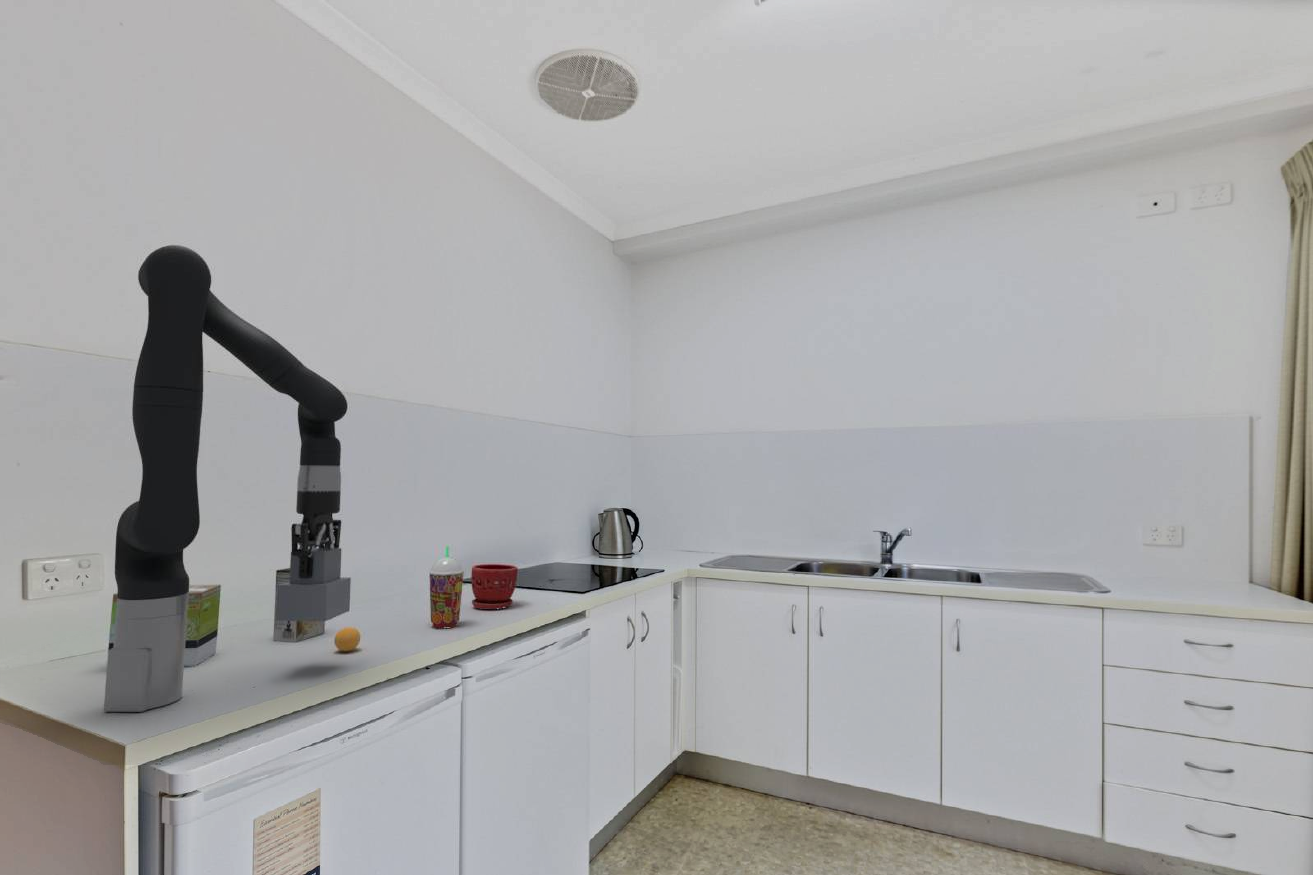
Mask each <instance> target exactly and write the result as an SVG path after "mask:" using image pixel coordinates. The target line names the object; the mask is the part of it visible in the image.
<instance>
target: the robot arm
mask: <svg viewBox="0 0 1313 875" xmlns="http://www.w3.org/2000/svg"><path fill="white" fill-rule="evenodd" d="M137 276H138V278H137V279H138V280H137V281H138V283H139V284H138V285H139V286H140V289H141V290H142V292H144V293H143V294H145V295H146V296H147V302H148V303H147V306H148V307H147V308H148V309H147V310H148V315H147V316H148V317H147V328H146V332H145V336H144V341H143V343H142V346H141V350H140V353H139V354H140V355H139V357H138V361H137V366H136V370H135V375H134V376H135V377H134V383H133V393H132V394H133V395H132V408H131V410H132V411H131V412H132V424H133V430H134V434H135V439H136V442H137V446H138V450H139V454H140V458H141V464H142V465H141V466H142V468H141V469H142V478H141V479H142V480H141V486H140V493H139V497H138V498H139V499H138V501H137V500H136V502H133V503H132V504H130V505H129V506H128V507H126V508H125V509H124V511H123V512H122V513H121V515H120V516H119V520H118V522H117V526H116V527H117V528H116V533H115V534H116V535H115V549H114V550H115V552H114V553H115V555H114V557H115V559H114V579H115V582H116V587H117V593H116V594H117V608H116V620H115V634H114V647H113V648H112V649H110V650H109V651H108V650H107V663H106V674H105V675H106V676H105V689H104V690H105V691H104V702H103V712H108V713H109V712H114V713H115V712H116V713H117V712H127V713H128V712H129V713H130V712H132V713H136V712H139V713H142V712H146V711H147V710H150V709H155V708H161V707H163V706H167V705H169V704H172V703H174V702H177V701H178V700H180V699H181V698H182V697H183V684H184V683H183V682H184V668H185V667H184V656H185V640H186V625H187V610H188V595H189V585H190V577H189V574H188V573H187V571H186V568H185V564H184V549H186V548H188V547H189V546H190V545H191V544H192V543H193V542H194V540H195V539H196V537H197V535H198V533H199V529H200V523H201V519H200V518H201V516H200V503H199V502H200V501H199V491H198V490H199V489H198V488H199V487H198V459H199V451H200V439H201V427H202V426H201V424H202V414H203V402H204V346H203V344H204V343H203V333H204V334H205V335H206V336H207V337H209V338H211V339H212V340H213V341H214V342H216V343H217V344H218V345H220V346H221V347H223V348H224V349H225V350H226V351H227V352H229V353H230V354H231V355H232V356H233V357H235V359H237V360H238V361H239V362H241V363H242V364H243V365H244V366H245V367H247V368H248V369H249V370H250V371H251V372H252V373H254V374H255V375H256V376H257V377H259V378H260V379H261V380H262V381H263V382H264V383H266V384H267V385H268V386H269V387H270V388H272V389H273V390H274V391H276V392H278V393H280V394H283V395H287V396H288V397H290V398H292V399H293V400H294V401H296V402H297V403H298V404H297V424H298V430H299V431H298V432H299V437H300V443H301V444H300V457H299V458H300V459H299V469H298V470H299V471H298V475H297V486H296V487H297V490H296V506H295V507H296V514H297V515H298V514H299V515H302V520H301V523H292V524H291V528H290V529H291V552H292V555H293V556H297V557H298V558H299V578H311V577H312V573H313V558H312V557H313V555H314V552H315V549H316V548H340V541H341V530H342V528H341V527H342V520H341V519H334V518H333V517H334V516H333V515H334V514H339V513H340V511H341V493H342V492H341V490H342V487H341V485H342V473H341V456H342V455H341V453H342V452H341V451H342V448H341V447H342V446H341V441H340V440H339V439H338V438H337V437H336V426H335V425H336V424H335V422H338V421H340V420H341V419H343V418H344V416H345V415H346V414H347V411H348V401H347V398H346V397H345V395H344V394H343V392H342V391H341V390H340V389H339V388H338V387H336V386H335V385H334V384H333V383H331V382H330V381H329V380H327V379H326V378H324V377H323V376H321V375H319V374H318V373H316V372H314V371H313V370H312V369H310V368H308V367H307V366H305V365H304V364H303V363H302V362H301V361H300V360H299V359H298V358H297V357H296V356H295V355H294V354H292V353H291V352H290V350H288V349H287V348H286V347H285V346H283V345H282V344H281V343H280V342H279V341H277V340H276V339H275V338H273V337H272V336H271V335H269V334H267V333H266V332H264V331H263V330H261V329H260V328H258V327H256V326H255V325H253V324H251V323H250V322H248V321H246V320H245V319H243V318H242V317H240V316H239V315H237V314H236V313H235V312H233V311H232V309H230V308H228V306H226V305H225V304H224V303H223V302H222V301H220V299H219V298H218V297H217V296H216V295H215V294H214V293H213V292H212V290H211V286H212V275H211V270H210V267H209V265H208V264H207V262H206V261H205V259H204V258H203V257H202V256H201V255H200V254H198V253H197V252H196V251H195V250H193V249H191V248H189V247H186V246H183V245H179V244H171V245H165V246H161V247H160V248H157V249H155V250H154V251H152V252H151V253H149V254H148V255H147V256H146V258H145V260H143V262H142V264H141V266H140V267H139V270H138V273H137ZM308 548H309V551H308Z"/></svg>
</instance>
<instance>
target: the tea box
mask: <svg viewBox="0 0 1313 875" xmlns="http://www.w3.org/2000/svg"><path fill="white" fill-rule="evenodd" d="M221 588H222V585H221V584H189V595H188V610H187V625H186V640H185V656H184V668H185V667H186V666H187V668H188V666H192V667H196V666H198V665H199V664H201V663H203V662H205V661H206V660H207V659H209V658H210V657H212V656H213V655H215V654H216V653H217V652H216V651H217V643H218V630H219V618H220V615H219V614H220V606H221V605H220V604H221V591H222V590H221ZM116 608H117V593H113V595H112V602H111V612H110V615H111V616H110V625H109V638H108V647H107V649H108V650H107V652H108V651H109V650H110V649H112V648H113V647H114V634H115V620H116ZM205 659H206V660H205ZM197 664H198V665H197Z"/></svg>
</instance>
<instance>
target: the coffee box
mask: <svg viewBox="0 0 1313 875" xmlns="http://www.w3.org/2000/svg"><path fill="white" fill-rule="evenodd" d="M287 582H290V567H288V568H282V569H281V568H280V569H277V570H275V591H274V592H275V596H274V612H273V613H274V617H273V619H274V620H273V634H272V635H273V637H272V638H273V639H272V640H273V642H285V643H286V642H287V643H288V642H289V643H298V642H301V641H303V640H306V639H309V638H314V637H315V636H318V635H322V634H325V628H326V627H325V626H326V621H276V607H277V586H278V585H279V584H283V583H287Z"/></svg>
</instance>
